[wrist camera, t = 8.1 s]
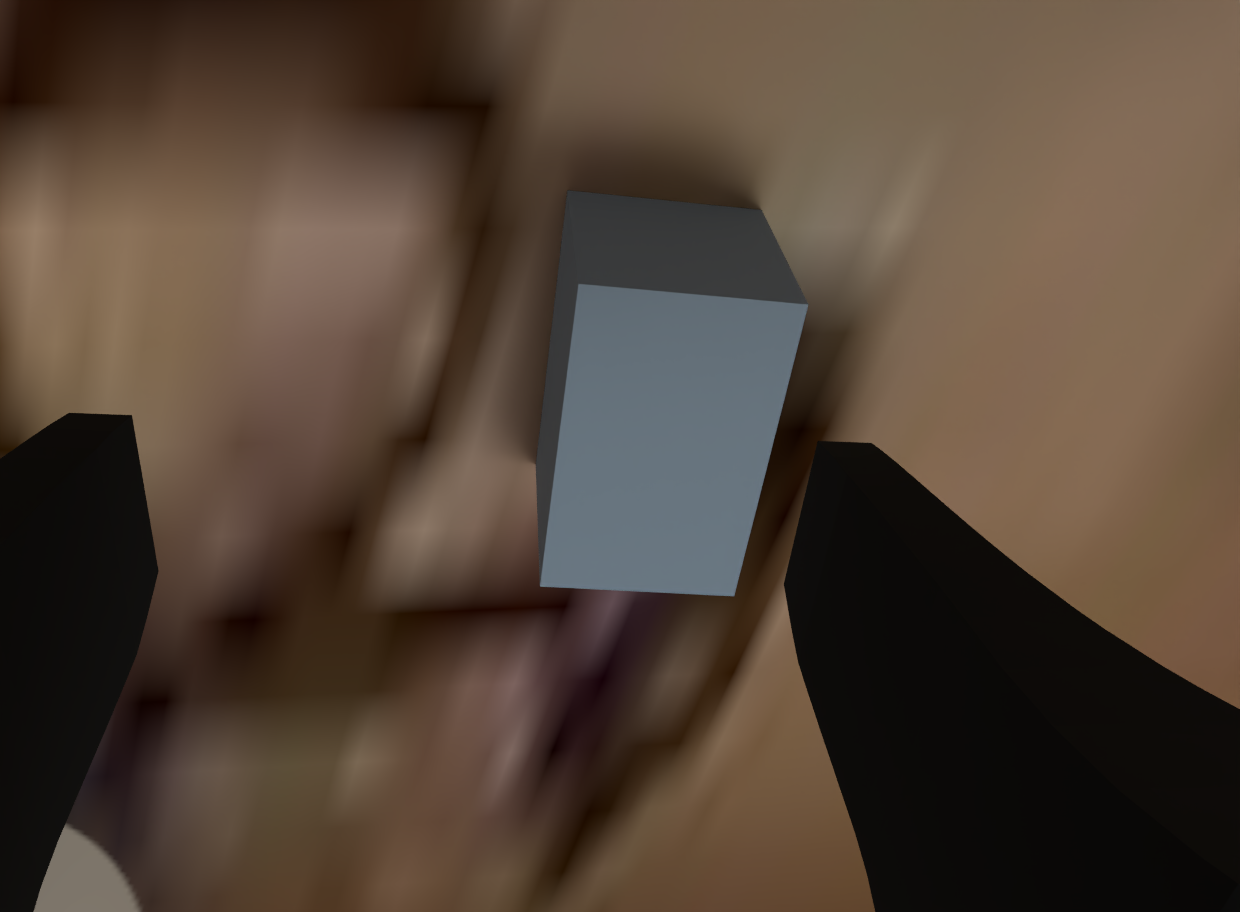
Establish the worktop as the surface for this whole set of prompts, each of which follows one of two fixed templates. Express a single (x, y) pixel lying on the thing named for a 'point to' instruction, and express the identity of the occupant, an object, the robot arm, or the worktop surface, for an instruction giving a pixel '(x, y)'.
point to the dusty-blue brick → (661, 393)
